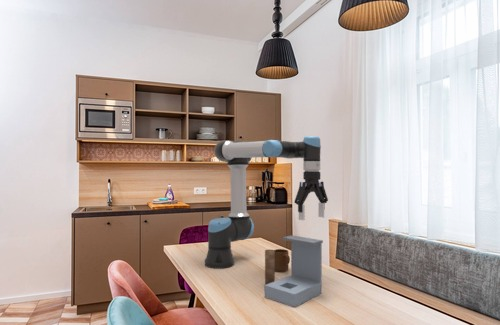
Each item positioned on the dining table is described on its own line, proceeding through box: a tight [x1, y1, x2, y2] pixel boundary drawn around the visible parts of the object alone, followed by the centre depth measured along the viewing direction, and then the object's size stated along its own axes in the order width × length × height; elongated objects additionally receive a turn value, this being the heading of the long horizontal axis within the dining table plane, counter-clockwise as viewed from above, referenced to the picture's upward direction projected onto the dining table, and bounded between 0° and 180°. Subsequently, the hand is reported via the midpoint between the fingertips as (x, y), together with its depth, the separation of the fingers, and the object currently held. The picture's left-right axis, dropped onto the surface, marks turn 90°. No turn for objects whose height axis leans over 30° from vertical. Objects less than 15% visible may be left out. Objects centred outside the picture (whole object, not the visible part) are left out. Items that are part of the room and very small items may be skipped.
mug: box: [274, 248, 291, 273], centre depth 164 cm, size 12×8×9 cm, turn 22°
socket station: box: [264, 235, 324, 308], centre depth 133 cm, size 15×18×21 cm
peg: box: [264, 249, 276, 286], centre depth 142 cm, size 4×4×15 cm
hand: (311, 218), depth 151 cm, fingers open, 13 cm apart
